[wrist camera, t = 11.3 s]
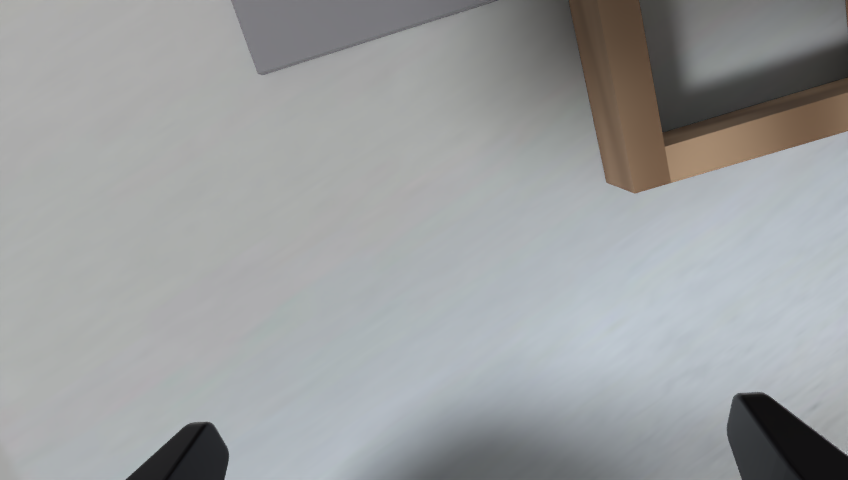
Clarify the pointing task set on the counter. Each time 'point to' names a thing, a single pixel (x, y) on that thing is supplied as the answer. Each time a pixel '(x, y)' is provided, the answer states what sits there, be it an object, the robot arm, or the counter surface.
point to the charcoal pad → (329, 25)
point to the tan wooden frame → (689, 145)
